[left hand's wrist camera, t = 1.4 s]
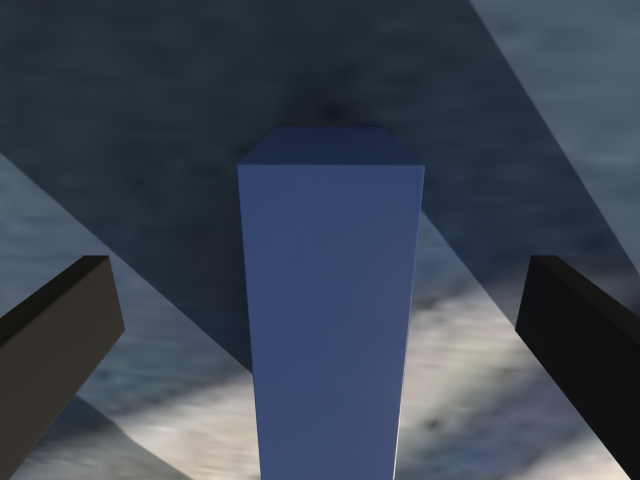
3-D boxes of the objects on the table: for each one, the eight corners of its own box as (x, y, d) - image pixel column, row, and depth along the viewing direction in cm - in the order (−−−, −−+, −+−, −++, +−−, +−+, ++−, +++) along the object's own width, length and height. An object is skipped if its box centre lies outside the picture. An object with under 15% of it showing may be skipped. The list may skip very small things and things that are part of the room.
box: (275, 126, 23) (235, 164, 13) (381, 126, 23) (425, 164, 13) (287, 405, 31) (267, 566, 21) (365, 406, 31) (385, 568, 21)
